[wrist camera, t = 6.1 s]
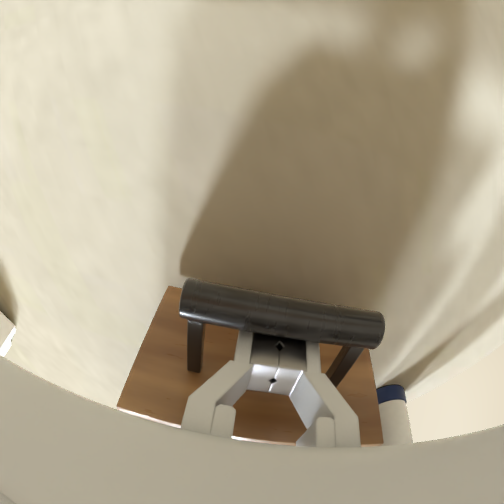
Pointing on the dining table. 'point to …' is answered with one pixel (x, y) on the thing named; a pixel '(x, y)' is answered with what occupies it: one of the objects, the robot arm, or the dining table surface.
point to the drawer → (223, 349)
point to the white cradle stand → (5, 334)
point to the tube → (394, 415)
